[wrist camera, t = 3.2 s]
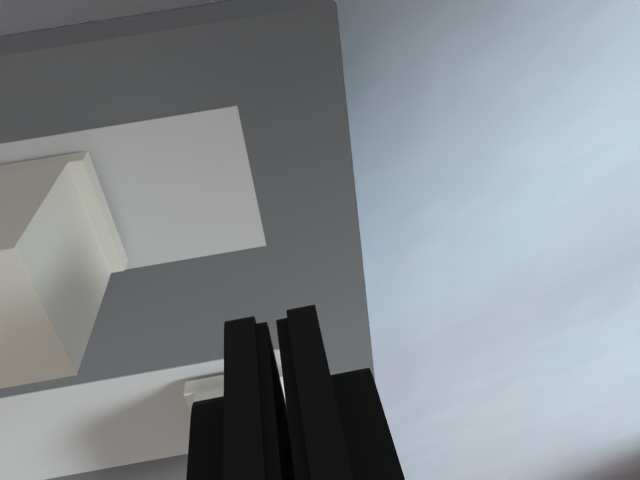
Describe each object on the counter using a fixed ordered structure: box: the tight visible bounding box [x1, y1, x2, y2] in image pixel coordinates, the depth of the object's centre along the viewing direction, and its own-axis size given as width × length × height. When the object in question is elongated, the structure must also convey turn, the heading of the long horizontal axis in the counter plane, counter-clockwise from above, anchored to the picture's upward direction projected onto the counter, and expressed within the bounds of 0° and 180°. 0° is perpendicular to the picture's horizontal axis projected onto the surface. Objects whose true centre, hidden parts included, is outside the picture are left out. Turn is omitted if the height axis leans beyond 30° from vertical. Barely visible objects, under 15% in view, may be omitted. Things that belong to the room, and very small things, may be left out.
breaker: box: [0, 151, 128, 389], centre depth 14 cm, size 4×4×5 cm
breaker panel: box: [0, 0, 375, 480], centre depth 23 cm, size 27×18×3 cm, turn 7°
